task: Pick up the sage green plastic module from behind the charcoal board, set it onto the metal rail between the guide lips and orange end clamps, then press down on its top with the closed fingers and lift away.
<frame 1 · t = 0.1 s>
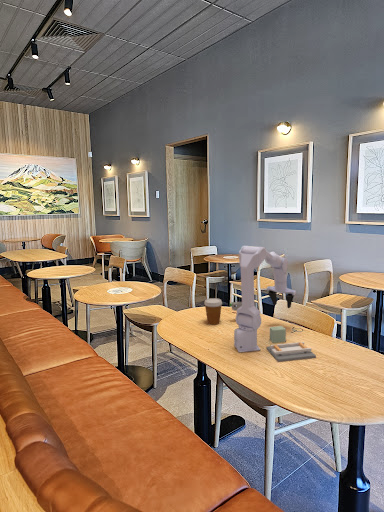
hand: (282, 306, 166), 11 cm above the table, tool pointing down, fingers open, 7 cm apart
disposable coffee cup: (213, 322, 176), on the table
mechanical component: (239, 321, 177), on the table
rail board: (290, 353, 138), on the table
module: (277, 340, 151), on the table
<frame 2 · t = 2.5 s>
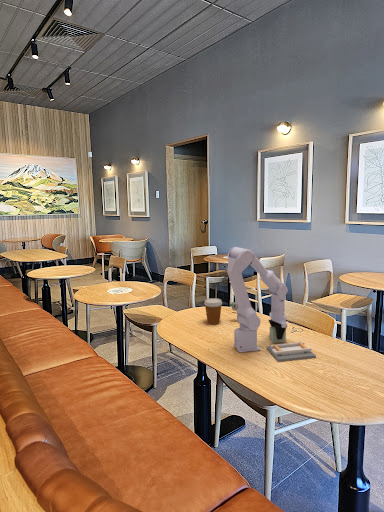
hand: (277, 337, 151), 2 cm above the table, tool pointing down, fingers closed on module, 4 cm apart
module: (277, 340, 151), on the table, touching gripper
everything else where it was.
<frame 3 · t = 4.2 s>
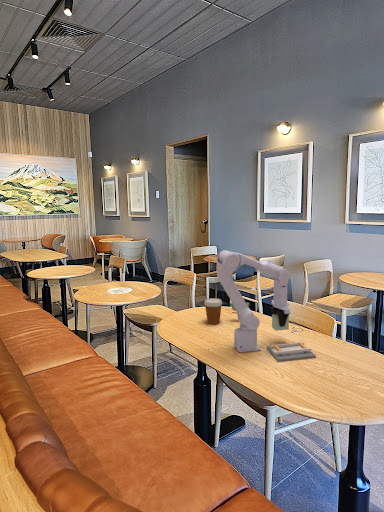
hand: (279, 324, 147), 9 cm above the table, tool pointing down, fingers closed on module, 4 cm apart
module: (280, 328, 148), point 7 cm above the table, touching gripper
everything else where it was.
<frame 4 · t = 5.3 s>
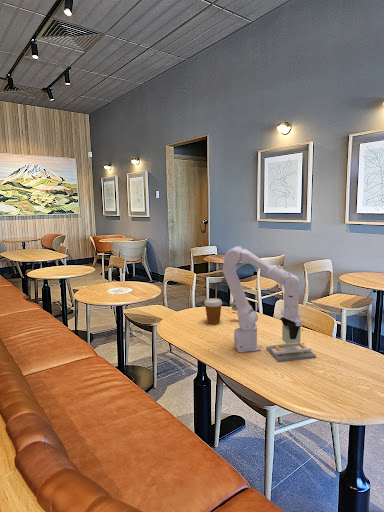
hand: (290, 336, 137), 7 cm above the table, tool pointing down, fingers closed on module, 4 cm apart
module: (291, 341, 137), point 5 cm above the table, touching gripper
everything else where it was.
when the fingers open (4 cm above the table, at t = 6.2 s): module stays where it is, resting on rail board.
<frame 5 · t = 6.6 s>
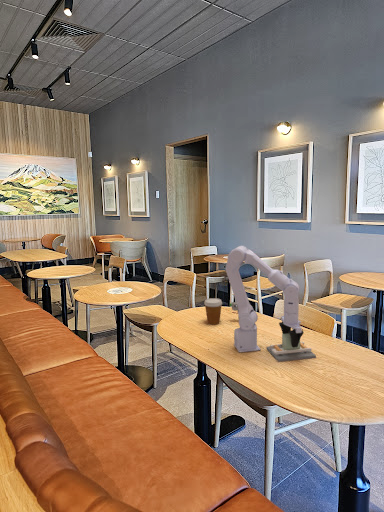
hand: (290, 343, 138), 4 cm above the table, tool pointing down, fingers open, 7 cm apart
module: (290, 349, 138), point 2 cm above the table, touching rail board
everything else where it was.
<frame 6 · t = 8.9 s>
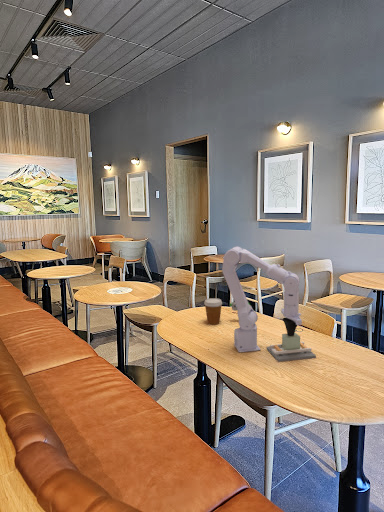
hand: (290, 335, 137), 8 cm above the table, tool pointing down, fingers closed, pressing on module
module: (290, 349, 138), point 2 cm above the table, touching gripper, rail board
everything else where it was.
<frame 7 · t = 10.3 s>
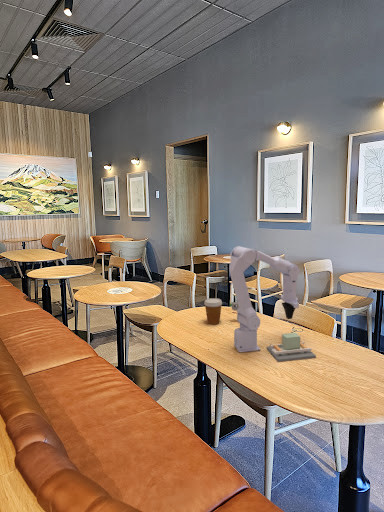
hand: (289, 318, 151), 10 cm above the table, tool pointing down, fingers closed
module: (290, 349, 138), point 2 cm above the table, touching rail board
everything else where it was.
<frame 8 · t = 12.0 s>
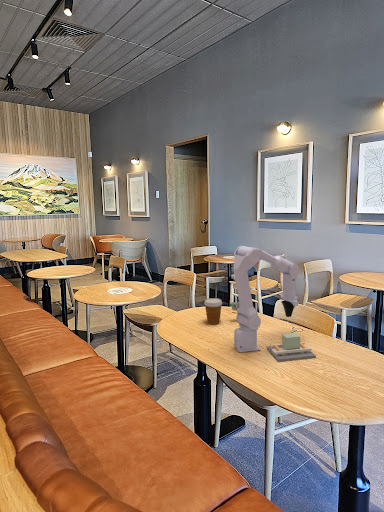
hand: (288, 316, 154), 9 cm above the table, tool pointing down, fingers closed
nothing on the table moved.
at the end: module 0.2 cm off-centre on the rail board, point 1.8 cm above the rail board's base; module tilted 0°; the gripper is holding nothing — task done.
